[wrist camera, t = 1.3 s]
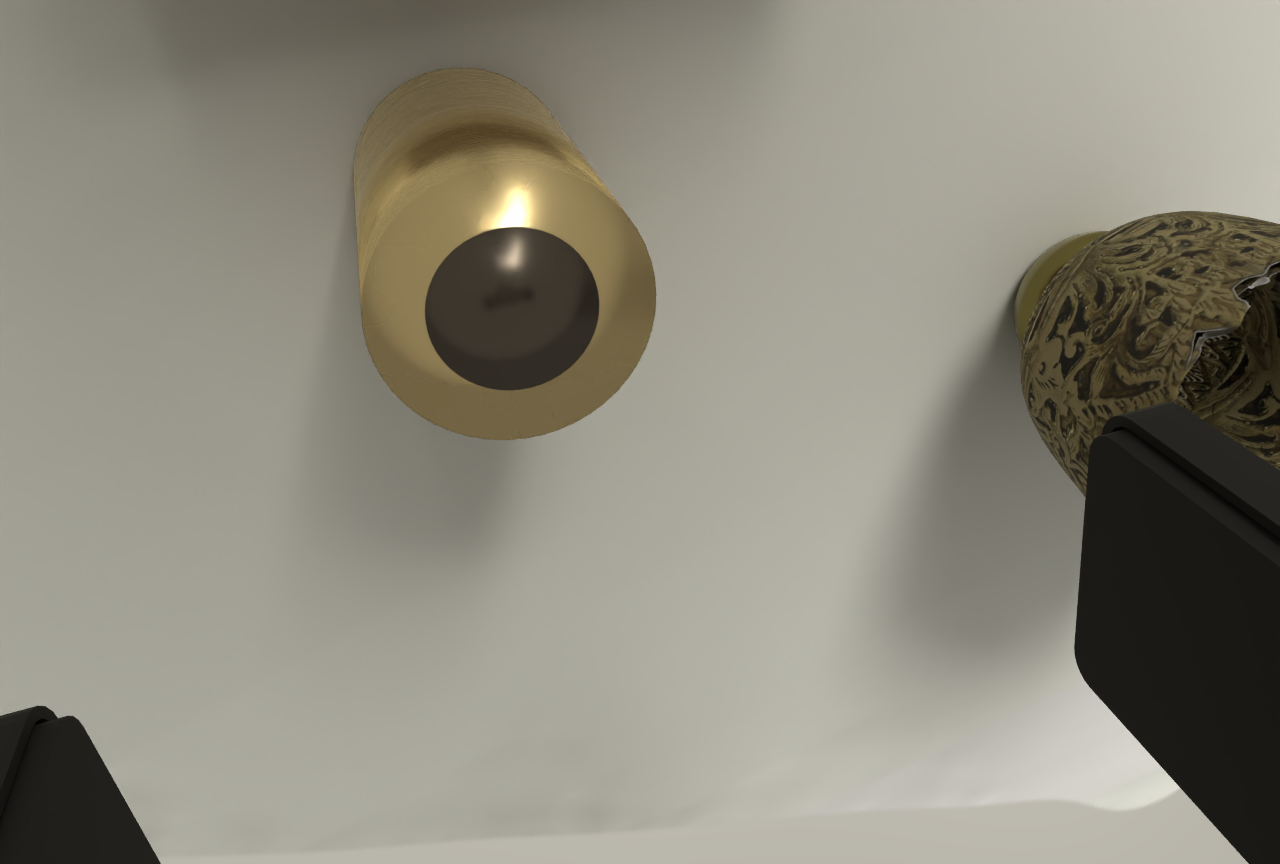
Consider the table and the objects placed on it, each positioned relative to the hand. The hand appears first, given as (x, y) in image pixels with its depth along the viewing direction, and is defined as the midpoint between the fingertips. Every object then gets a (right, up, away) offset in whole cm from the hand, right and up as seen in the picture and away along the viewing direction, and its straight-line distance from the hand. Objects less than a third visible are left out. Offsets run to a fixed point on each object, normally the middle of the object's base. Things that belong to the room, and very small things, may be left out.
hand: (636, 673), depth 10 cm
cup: (+11, +6, +17) cm, 21 cm away
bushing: (-4, +7, +12) cm, 15 cm away
